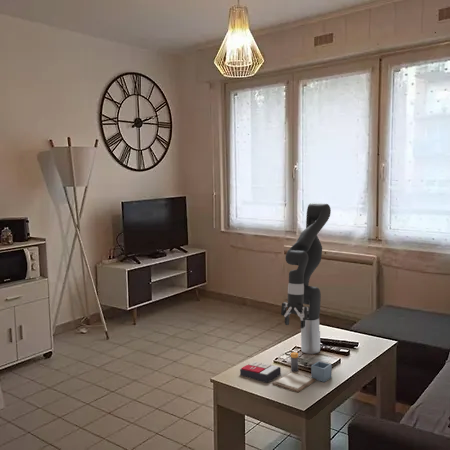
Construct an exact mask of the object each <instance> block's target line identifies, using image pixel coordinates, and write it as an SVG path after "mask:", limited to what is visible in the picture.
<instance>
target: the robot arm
mask: <svg viewBox="0 0 450 450" xmlns="http://www.w3.org/2000/svg"><path fill="white" fill-rule="evenodd" d="M331 213H332V212H331V206H330V205H329V203H324V202H311V203H309V204H308V205H307V208H306V217H305V218H306V221H305V229H304V230H303V231H302V232H301V233H300V235H299V237H298V238H297V240H296V242H295V243H294V244H293V245H292V246H291V247H290V248H289V249H288V250H287V252H286V253H285V261H286V263H287V264H288V265H291V266H297V268H296V269H292V270H289V272H288V285H287V302H286V301H283V302H282V303H281V311H280V312H281V313H280V314H281V316H283V317H284V324H285V325H286V326H289V324H290V315H291V314H292V315H293V314H294V315H297V316H298V317H299V320H300V348H301V352H302V353H305V354H309V355H311V354H313V355H314V354H319V352H320V351H321V331H320V313H321V303H322V302H321V298H322V297H321V296H322V295H321V290H320V288H319V287H318V286H312V285H309V283H310V280H311V277H312V275H313V273H314V272H315V270H316V269H317V268H318V266H319V265H320V263H321V261H322V254H323V246H322V243H321V240H320V239H319V237H318V235H319V233H320V231H321V230H322V229H323V228H324V227H325V225H326V223H328V221H329V219H330V217H331ZM304 305H309V306H304Z"/></svg>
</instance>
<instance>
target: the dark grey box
mask: <svg viewBox="0 0 450 450" xmlns="http://www.w3.org/2000/svg"><path fill="white" fill-rule="evenodd" d="M239 372H240V376H243V377H246V378H250V379H253V380H257V381H259V382H263V383H267V384H268V383H270V382H272V381H273V380H275V379H276V378H278V377H279V376H281V375H282V373H281V372H282V371H281V367H280V366H279V365H272V364H269V363H265V362H260V361H256V360H254V361H251V362H249V363H248V364H246V365H244V366H242V367H241V368H240V369H239Z"/></svg>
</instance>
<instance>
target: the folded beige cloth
mask: <svg viewBox="0 0 450 450" xmlns="http://www.w3.org/2000/svg"><path fill="white" fill-rule="evenodd" d="M316 381H317V380H316V379H314V378H311V376H310V377H309V376H306V375H303V374H299V373H297V372H293V371H290V372H288V373H286V374H285V375H283V376H281V377H279V378H278V379H276V380H274V381H273V382H272V385H273V386H276V387H280V388H283V389H285V390H289V391H292V392H295V393H299V392H301V391H302V390H304V389H306V388H308V387H309V386H310V385H312V384H313V383H315V382H316Z"/></svg>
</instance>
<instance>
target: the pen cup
mask: <svg viewBox="0 0 450 450" xmlns="http://www.w3.org/2000/svg"><path fill="white" fill-rule="evenodd" d="M310 370H311V372H310V373H311V375H310V378H314V379H316V381H318V382H322V383H325V382H328V381H329V380H330V379H331V378H332V364H331V363H328V362H324V361H320V360H318V361H317V362H315V363H313V364H311V367H310Z"/></svg>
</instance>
